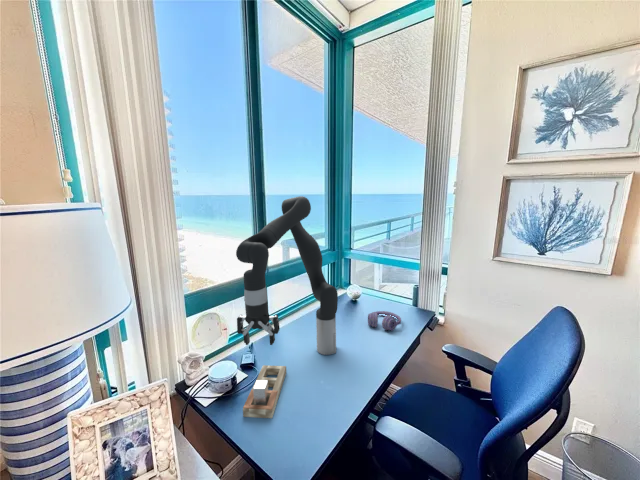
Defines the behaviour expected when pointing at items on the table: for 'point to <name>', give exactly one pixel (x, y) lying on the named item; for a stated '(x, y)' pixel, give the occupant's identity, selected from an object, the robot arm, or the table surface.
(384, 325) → the headphones
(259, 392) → the steel peg
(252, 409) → the wooden slotted board
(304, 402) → the table surface
